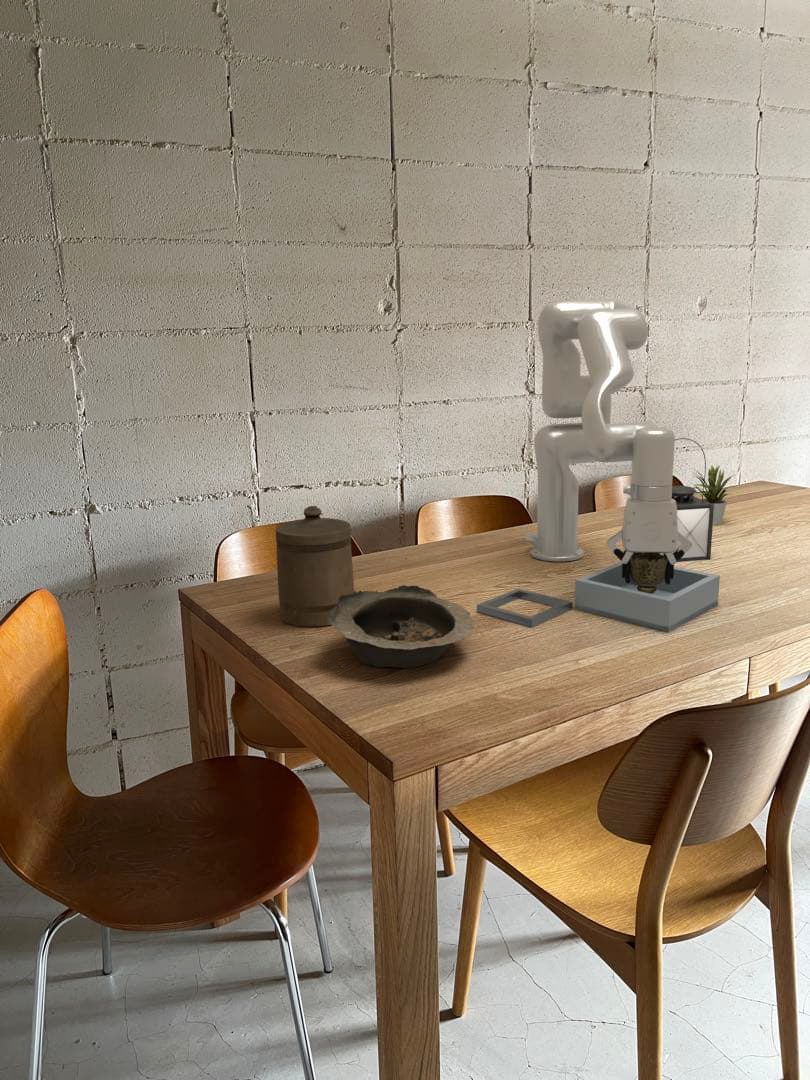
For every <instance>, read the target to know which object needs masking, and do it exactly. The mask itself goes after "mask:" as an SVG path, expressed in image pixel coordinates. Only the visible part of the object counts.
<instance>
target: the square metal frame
mask: <svg viewBox="0 0 810 1080" xmlns="http://www.w3.org/2000/svg"><path fill="white" fill-rule="evenodd" d="M517 599H522V600H526V601H529V602H533V603H538V604H541V605H545V606H549V608H547V609H545V610H543V611H540V612H539V613H535V614H534V615H531V616H529V615H526V614H522V613H519V612H514V611H511V610H507V609H504V608H500V606H503V605H505V604H508V603H510V602H513V601H515V600H517ZM573 606H574V603H573V601H571V600H567V599H563V598H558V597H555V596H550V595H546V594H542V593H537V592H534V591H530V590H526V589H521V588H516V589H513V590H511V591H507V592H506V593H504V594H501V595H499V596H495V597H493V598H490V599H488V600H486V601H483V602H480V603H477V604H476V612H477V613H479V614H483V615H485V616H490V617H493V618H497V619H501V620H503V621H508V622H512V623H514V624H519V625H522V626H526V627H529V628H534V627H537V626H538V625H541V624H543V623H545V622H547V621H549V620H552V619H553V618H556V617H558V616H560V615H562V614H564V613H565V614H566V613H568V612H569V611H572V610H573V609H574V608H573Z"/></svg>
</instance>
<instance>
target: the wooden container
mask: <svg viewBox="0 0 810 1080" xmlns="http://www.w3.org/2000/svg"><path fill="white" fill-rule="evenodd" d="M322 512H323V511H322V510H321V508H319V507H317V505H310V506H307V507H306V508H304V510H303V515H304V518H300V519H294V520H290V521H285V522H283V523H280V524H279V525H277V526H276V527H275V541H276V560H277V561H276V562H277V563H276V564H277V586H278V587H277V591H278V600H279V614H280V615H279V616H280V619H281V620H282V621H283V622H285V623H287V624H288V625H289V624H290V625H292V626H297V627H302V628H303V627H306V628H314V627H315V628H316V627H317V628H319V627H327V626H332V625H331V624H329V622H328V619H327V614H328V613H329V611H330V610H332V609H333V608H334V607H335V605H337V603H338V600H339V598H340V597H341V596H342V595H344V596H347V595H349V594H353V593H354V592H355V582H354V581H355V580H354V579H355V578H354V568H353V567H354V566H353V555H352V553H353V552H352V542H351V541H352V529H351V524H350V522H348V521H347V520H342V519H338V518H330V517H329V518H328V517H321V515H322Z"/></svg>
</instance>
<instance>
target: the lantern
mask: <svg viewBox="0 0 810 1080" xmlns="http://www.w3.org/2000/svg"><path fill="white" fill-rule="evenodd" d="M678 440H687V441H688V440H689V441H691V442H693V443H695V444H696V445H698V447H699V448H700V449H701V450H702V454H703V459H704V476H703V478H704V482H703V483H704V484H703V486H702V489H703V490H702V491H703V492H704V491H705V488H704V485H706V484H705V482H706V474H707V472H706V471H707V470H706V469H707V467H706V466H707V463H706V461H707V460H706V454H705V451H704V449H703V448H702V446H701V445H700V444H699V443H698V442H696V441H694V440H693V439H690V438H685V437H681V438H675V441H678ZM697 492H698V490H696V488H694V487H692V486H689V485H688V486H687V485H672V499H674V500H675V501H676V506H677V516H678V532H680V533H681V534H682V535H683V536H684V537H686V538H687V539H688V540H689V541H690V542H691V543H692V547H691V548H690V549H689V550H688V551H687V552H686V553H685V554H684V556H683V557H681V558H680V559H679V560H678V561H677V562H676V563H679V562H680V563H681V562H692V561H693V562H694V561H704V560H705V561H710V560H711V556H712V555H711V554H712V540H713V512H714V504H711V503H709V502H706V501H704V500H703V499H704V495H703V493H702V495H701V498H699V497H697V496H694V495H695V494H696V493H697ZM681 546H682V543H681V542H679V541H678V544H677V549H676V550H678V549H679V548H680V547H681ZM676 550H675V551H676ZM675 551H674V552H675ZM674 552H672V553H674ZM660 554H661V555H664V553H660Z"/></svg>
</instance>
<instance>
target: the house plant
mask: <svg viewBox="0 0 810 1080" xmlns="http://www.w3.org/2000/svg"><path fill="white" fill-rule="evenodd" d="M720 466H721V465H719V466H717V467H714V466H713V464H712V465H711V466H710V468H709V469H708V473H707V476H708V478H707V482H708V483H707V482H706V481H705V484H704V476H703V475H702V473H700V471H698V470H697V469H695V468H690V469H691V470H694V471H696V472H694V473H697V474H694V473H693V476H692V478H696V479H698V480H699V481H700V482H701V483H696V484H695V483H692V486H694V487H693V488H694V489H697V493H694V495H695V496H696V495H698V494H700V496H702V493H703V497H704V498H703V500H704V501H706V502H709V503H711V504H714V512H713V526H716V527H717V526H722V523H723V518H724V515H725V510H726V508H727V507H726V506H727V501H726V500H725V499H724V498H725V497H726V496H728V495H729V493H727V492H726V491H727V489H730V488H737V486H734V485H730V486H728V487H726V488H724V487H725V486H726V484H727V483H728V482H729V481H730V480H731V479H732V478H733V477H735V476H736V475H735V474H733V475H731V476H730V477H727V478H726V479H725V480H724V477H725V471H724V469H723V470H722V469H721V467H720ZM698 474H699V475H700V476H699V475H698ZM694 475H695V476H694ZM723 480H724V481H723ZM689 484H690V485H691V483H689ZM703 484H704V492H703V488H702V487H703ZM699 486H700V487H699ZM730 495H731V496H733V495H732V493H730Z"/></svg>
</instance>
